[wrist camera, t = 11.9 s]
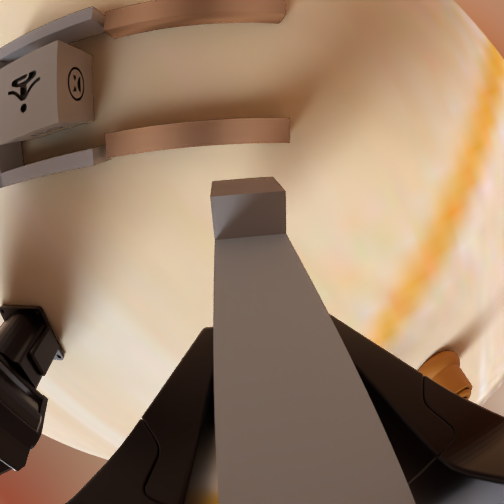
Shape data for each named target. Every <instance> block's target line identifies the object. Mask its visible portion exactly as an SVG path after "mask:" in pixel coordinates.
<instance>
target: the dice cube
mask: <svg viewBox="0 0 504 504" xmlns="http://www.w3.org/2000/svg"><path fill="white" fill-rule="evenodd" d="M92 121H94V110H93V90H92V55H91V54H89V53H86V52H84V51H82V50H80V49H78V48H75V47H73V46H71V45H69V44H66V43H64V42H62V41H59V40H57V41H54V42H52V43H50V44H47V45H45V46H43V47H41V48H39V49H37V50H35V51H33V52H30V53H28V54H27V55H25V56H23V57H21V58H19V59H17V60H15V61H13V62H12V63H10V64H8V65H6V66H5V67H3V68H1V69H0V145H4V144H8V143H13V142H18V141H23V140H28V139H34V138H39V137H42V136H45V135H48V134H51V133H54V132H57V131H61V130H64V129H67V128H70V127H74V126H77V125H81V124H85V123H88V122H92Z"/></svg>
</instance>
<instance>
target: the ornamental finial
mask: <svg viewBox="0 0 504 504" xmlns="http://www.w3.org/2000/svg"><path fill="white" fill-rule="evenodd" d="M418 371H419V372H420V373H422V374H423V376H427V377H429V378H430V379H432V380H433V381H435V382H436V383H438V384H440V385H441V386H443V387H445V388H447V389H448V390H450V391H452V392H454V393H455V394H457V395H459V396H461V397H463V398H465V399H467V400H468V399H469V397H470V395H471V389H472V385H471V383H470V382H469V380H468V379H467V377H466V376H465V374H464V373H463V371H462V370H461V368H460V360H459V357H458V355H457V354H456V353H454V352H452V351H443V352H440V353H438V354H436V355H434V356H433V357H431V358H430V359H429V360H427V361H426V362H425V363H424V364H423V365H422V366H421V368H420V369H419V370H418Z"/></svg>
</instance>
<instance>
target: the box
mask: <svg viewBox="0 0 504 504" xmlns="http://www.w3.org/2000/svg"><path fill="white" fill-rule="evenodd" d="M104 24H105V16H104V15H103V14H102V13H101V12H99V11H98V10H97V9H96V8H95V7H93V6H92V7H89V8H86V9H83V10H80V11H78V12H75V13H72V14H69V15H67V16H64V17H62V18H59V19H57V20H55V21H52V22H50V23H48V24H45V25H43V26H41V27H39V28H37V29H35V30H33V31H31V32H29V33H27V34H25V35H23V36H21V37H19V38H17V39H15V40H14V41H12V42H10V43H8V44H6V45H5V46H3V47H1V48H0V69H1V68H3V67H5V66H6V65H8V64H10V63H12V62H13V61H15V60H17V59H19V58H21V57H23V56H25V55H27V54H28V53H30V52H33V51H35V50H37V49H39V48H41V47H43V46H45V45H47V44H50V43H52V42H54V41H57V40H59V41H62V42H64V43H66V44H69V43H72V42H75V41H78V40H81V39H84V38H87V37H90V36H93V35H96V34H100V33H103V32H105V31H104ZM110 159H111V157H109V158H107V155H106V146H101V147H96V148H91V149H86V150H81V151H77V152H73V153H68V154H64V155H60V156H56V157H52V158H48V159H45V160H41V161H37V162H34V163H30V164H27V165H24V164H23V155H22V145H21V141H18V142H13V143H8V144H4V145H0V188H2V187H5V186H9V185H12V184H16V183H19V182H23V181H27V180H31V179H34V178H38V177H42V176H47V175H51V174H55V173H59V172H64V171H69V170H73V169H78V168H83V167H89V166H94V165H96V164H99V163H102V162H105V161H107V160H110Z"/></svg>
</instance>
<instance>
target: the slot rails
mask: <svg viewBox="0 0 504 504" xmlns="http://www.w3.org/2000/svg"><path fill="white" fill-rule="evenodd" d="M285 14H286V10H285V0H155V1H150V2H144V3H139V4H135V5H130V6H126V7H122V8H118V9H114V10H111V11H107V12H105V24H104V31H105V32H106V33H108V34H109V35H110V36H112V37H113V38H118V37H122V36H127V35H131V34H136V33H141V32H146V31H152V30H158V29H164V28H171V27H178V26H187V25H197V24H211V23H234V22H257V23H280V22H281V20H282V18H283V17H284V15H285ZM244 143H290V118H238V119H218V120H203V121H192V122H181V123H172V124H164V125H156V126H149V127H142V128H136V129H129V130H124V131H118V132H113V133H107V134H105V144H106V155H107V158H109V157H115V156H121V155H128V154H134V153H141V152H149V151H157V150H165V149H174V148H184V147H195V146H208V145H224V144H244Z"/></svg>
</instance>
